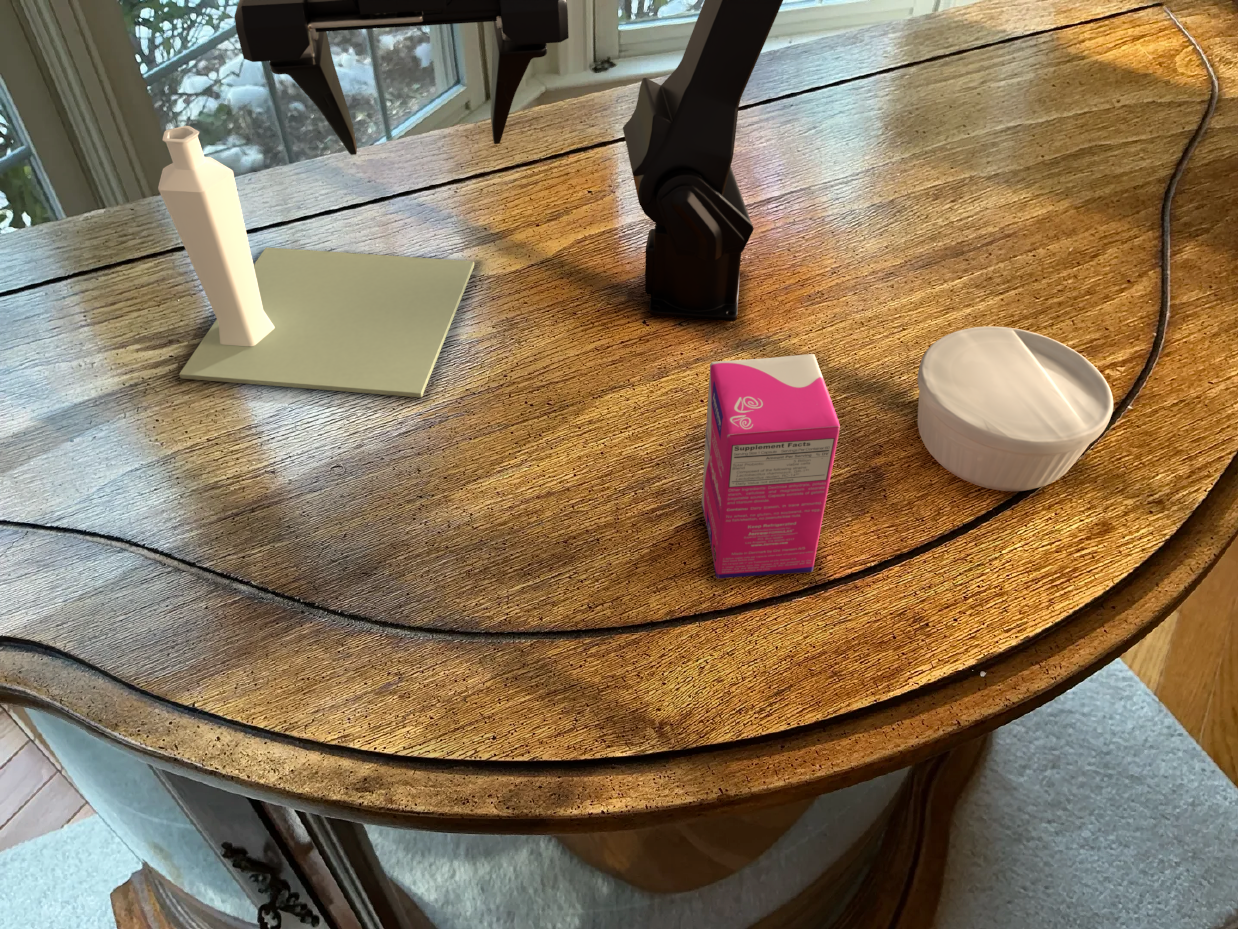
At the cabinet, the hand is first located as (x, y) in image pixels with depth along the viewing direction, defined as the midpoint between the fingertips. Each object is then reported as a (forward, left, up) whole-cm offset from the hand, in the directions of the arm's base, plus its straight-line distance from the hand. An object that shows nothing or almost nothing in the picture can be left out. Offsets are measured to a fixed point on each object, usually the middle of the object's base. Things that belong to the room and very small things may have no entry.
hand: (425, 146), depth 64 cm
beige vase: (+14, +5, -13) cm, 19 cm away
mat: (+8, +2, -13) cm, 15 cm away
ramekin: (-38, +10, -13) cm, 41 cm away
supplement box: (-23, +20, -13) cm, 33 cm away
